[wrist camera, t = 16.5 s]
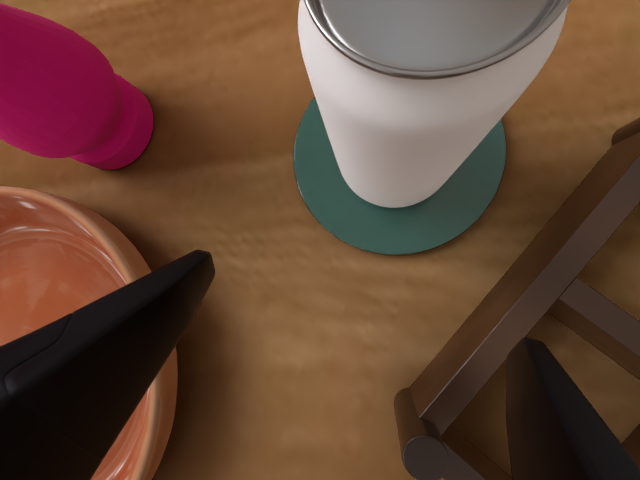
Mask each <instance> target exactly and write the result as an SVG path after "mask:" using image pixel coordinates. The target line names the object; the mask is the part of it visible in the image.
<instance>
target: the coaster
mask: <svg viewBox="0 0 640 480" xmlns="http://www.w3.org/2000/svg"><path fill="white" fill-rule="evenodd" d="M505 159H506V138H505V133H504V128H503V124H502V121H501V119H500V120H499V121H498V123H497V124H496V125H495V126H494V127H493V128H492V129H491V131H490V132H489V133H488V134H487V135H486V136H485V138H484V139H483V140H482V141H481V142H480V143H479V144H478V146H477V147H476V148H475V149H474V150H473V151H472V152H471V154H470V155H469V156H468V157H467V158H466V159H465V160H464V162H463V163H462V164H461V165H460V166H459V167H458V168H457V169H456V171H455V172H454V173H453V174H452V175H451V176H450V177H449V178H448V180H447V181H446V182H445V183H444V184H443V185H442V186H441V187H440V188H439V189H438V190H437V191H436V192H435V193H434V194H432V195H431V196H430V197H428V198H426V199H425V200H423V201H421V202H419V203H416V204H414V205H410V206H406V207H399V208H388V207H382V206H378V205H374V204H372V203H369V202H367V201H365V200H364V199H362V198H361V197H359V196H358V195H357V194H356V193H354V192H353V191H352V189H351V188H350V187H349V186H348V184H347V183H346V181H345V180H344V178H343V176H342V174H341V171H340V169H339V166H338V163H337V160H336V157H335V155H334V152H333V149H332V146H331V143H330V140H329V137H328V134H327V131H326V128H325V125H324V122H323V119H322V116H321V113H320V110H319V107H318V104H317V101H316V98H315V97H314V99H313V100H312V101H311V103H310V104H309V106H308V108H307V110H306V111H305V113H304V115H303V118H302V120H301V122H300V125H299V128H298V131H297V135H296V139H295V146H294V170H295V177H296V181H297V185H298V188H299V191H300V193H301V196H302V198H303V200H304V202H305V204H306V205H307V207H308V209H309V210H310V212H311V213H312V214H313V216H314V217H315V218H316V220H317V221H318V222H319V223H320V224H321V225H322V226H323V227H324V228H325V229H326V230H328V231H329V232H330V233H331V234H333V235H334V236H335V237H337V238H338V239H340V240H342V241H343V242H345V243H347V244H349V245H351V246H354V247H356V248H358V249H361V250H365V251H368V252H372V253H378V254H385V255H404V254H413V253H418V252H422V251H426V250H430V249H432V248H435V247H437V246H440V245H442V244H445V243H447V242H448V241H450V240H452V239H454V238H456V237H457V236H459V235H460V234H461V233H463V232H464V231H465V230H467V229H468V228H469V227H470V226H471V225H472V224H473V223H474V222H475V221H476V220H478V219H479V218H480V216H481V215H482V214H483V212H484V211H485V210H486V209H487V207H488V206H489V204H490V203H491V201H492V199H493V198H494V196H495V194H496V192H497V189H498V187H499V185H500V182H501V179H502V175H503V171H504V168H505Z"/></svg>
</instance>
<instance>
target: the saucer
mask: <svg viewBox="0 0 640 480" xmlns="http://www.w3.org/2000/svg"><path fill="white" fill-rule="evenodd" d="M149 273H151V270H150V268H149V267H148V265H147V263H146V262H145V260H144V259H143V257H142V256H141V254H140V253H139V252H138V250H137V249H136V248H135V246H134V245H133V244H132V243H131V242H130V241H129V240H128V238H127V237H126V236H125V235H124V234H123V233H122V232H121V231H120V230H118V229H117V228H116V227H115V226H114V225H113V224H111V223H110V222H109V221H108V220H106V219H105V218H104V217H102V216H101V215H99V214H98V213H96V212H95V211H93V210H91V209H89V208H87V207H85V206H83V205H81V204H79V203H77V202H74V201H72V200H69V199H66V198H63V197H59V196H55V195H51V194H48V193H44V192H40V191H36V190H31V189H25V188H18V187H2V186H0V346H2V345H4V344H6V343H9V342H11V341H13V340H15V339H18V338H20V337H22V336H24V335H26V334H29V333H31V332H33V331H35V330H37V329H39V328H41V327H43V326H45V325H47V324H50V323H52V322H54V321H56V320H58V319H60V318H62V317H64V316H66V315H68V314H70V313H73V312H74V311H76V310H78V309H80V308H82V307H84V306H86V305H88V304H90V303H92V302H94V301H96V300H98V299H99V298H101V297H103V296H105V295H107V294H109V293H111V292H113V291H115V290H117V289H119V288H121V287H123V286H125V285H127V284H129V283H131V282H133V281H135V280H137V279H139V278H141V277H143V276H145V275H147V274H149ZM177 383H178V368H177V352H176V346H175V348H174V349H173V351H172V353H171V354H170V356H169V357H168V359H167V360H166V362H165V364H164V365H163V367H162V368H161V370H160V371H159V373H158V375H157V376H156V378H155V379H154V381H153V382H152V384H151V385H150V387H149V389H148V390H147V392H146V393H145V395H144V396H143V398H142V400H141V401H140V403H139V404H138V406H137V407H136V409H135V410H134V412H133V414H132V415H131V417H130V418H129V420H128V421H127V423H126V425H125V426H124V428H123V429H122V431H121V432H120V434H119V435H118V437H117V439H116V440H115V442H114V443H113V445H112V446H111V448H110V450H109V451H108V453H107V454H106V456H105V457H104V459H103V461H102V462H101V464H100V466H99V467H98V469H97V470H96V472H95V473H94V475H93V477H92V478H91V480H152V478H153V476H154V475H155V473H156V471H157V469H158V466H159V464H160V462H161V459H162V457H163V454H164V452H165V449H166V446H167V443H168V439H169V436H170V433H171V429H172V425H173V420H174V414H175V408H176V398H177Z"/></svg>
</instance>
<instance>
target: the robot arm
mask: <svg viewBox="0 0 640 480" xmlns="http://www.w3.org/2000/svg"><path fill="white" fill-rule="evenodd" d="M214 275H215V268H214V264H213V260H212V256H211V254H210V253H209V252H206V251H203V250H195V251H193V252H191V253H189V254H187V255H185V256H183V257H181V258H179V259H177V260H175V261H173V262H171V263H169V264H167V265H165V266H163V267H161V268H159V269H157V270H155V271H153V272H151V273H149V274H147V275H145V276H143V277H141V278H139V279H137V280H135V281H133V282H131V283H129V284H127V285H125V286H123V287H121V288H119V289H117V290H115V291H113V292H111V293H109V294H107V295H105V296H103V297H101V298H99V299H98V300H96V301H94V302H92V303H90V304H88V305H86V306H84V307H82V308H80V309H78V310H76V311H74V312H73V313H70V314H68V315H66V316H64V317H62V318H60V319H58V320H56V321H54V322H52V323H50V324H47V325H45V326H43V327H41V328H39V329H37V330H35V331H33V332H31V333H29V334H26V335H24V336H22V337H20V338H18V339H15V340H13V341H11V342H9V343H6V344H4V345H2V346H0V480H91V478H92V477H93V475H94V473H95V472H96V470H97V469H98V467H99V466H100V464H101V462H102V461H103V459H104V457H105V456H106V454H107V453H108V451H109V450H110V448H111V446H112V445H113V443H114V442H115V440H116V439H117V437H118V435H119V434H120V432H121V431H122V429H123V428H124V426H125V425H126V423H127V421H128V420H129V418H130V417H131V415H132V414H133V412H134V410H135V409H136V407H137V406H138V404H139V403H140V401H141V400H142V398H143V396H144V395H145V393H146V392H147V390H148V389H149V387H150V385H151V384H152V382H153V381H154V379H155V378H156V376H157V375H158V373H159V371H160V370H161V368H162V367H163V365H164V364H165V362H166V360H167V359H168V357H169V356H170V354H171V353H172V351H173V349H174V348H175V346H176V345H177V343H178V342H179V340H180V339H181V337H182V335H183V334H184V332H185V331H186V329H187V328H188V326H189V324H190V323H191V321H192V319H193V318H194V316H195V314H196V312H197V310H198V308H199V306H200V304H201V302H202V300H203V298H204V296H205V294H206V292H207V290H208V288H209V286H210V284H211V282H212V280H213V278H214ZM506 423H507V434H508V443H509V453H510V462H511V472H512V480H640V468H639V467H638V465H637V464H636V463H635V461H634V460H633V459H632V458H631V456H630V455H629V454H628V452H627V451H626V450H625V448H624V447H623V446H622V444H621V443H620V442H619V441H618V439H617V438H616V437H615V435H614V434H613V433H612V431H611V430H610V429H609V428H608V426H607V425H606V424H605V422H604V421H603V420H602V418H601V417H600V416H599V414H598V413H597V412H596V411H595V409H594V408H593V407H592V405H591V404H590V403H589V401H588V400H587V399H586V398H585V396H584V395H583V394H582V392H581V391H580V390H579V388H578V387H577V386H576V385H575V383H574V382H573V381H572V379H571V378H570V377H569V375H568V374H567V373H566V371H565V370H564V369H563V368H562V366H561V365H560V364H559V362H558V361H557V360H556V358H555V357H554V356H553V355H552V353H551V352H550V351H549V349H548V348H547V347H546V345H545V344H544V343H542V342H541V341H538V340H535V339H531V338H527V337H525V338H522V339H521V340H520V341H519V342H518V343H517V344H516V345H515V346H514V348H513V349H512V350H511V351H510V352H509V354H508V356H507V371H506Z"/></svg>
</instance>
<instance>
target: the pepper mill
mask: <svg viewBox="0 0 640 480" xmlns="http://www.w3.org/2000/svg"><path fill="white" fill-rule="evenodd" d="M153 126H154V124H153V112H152V109H151V105H150V103H149V101H148V99H147V98H146V97H145V95H144V94H143V93H142V92H141V91H140V90H138V89H137V88H136V87H134V86H133V85H132V84H130V83H129V82H128V81H126V80H125V79H124V78H122V77H121V76H119V75H117V74H115V73H114V71H113V69H112V67H111V65H110V63H109V62H108V60H107V59H106V57H105V56H104V55H103V54H102V53H101V52H100V51H99V50H98V49H97V48H96V47H95V46H94V45H93V44H92V43H90V42H89V41H87V40H86V39H84V38H83V37H81V36H80V35H78V34H77V33H75V32H74V31H72V30H70V29H68V28H66V27H64V26H62V25H60V24H58V23H56V22H54V21H52V20H49V19H47V18H44V17H41V16H39V15H36V14H33V13H30V12H26V11H23V10H20V9H17V8H14V7H11V6H8V5H4V4H1V3H0V139H2V140H4V141H5V142H7V143H9V144H10V145H12V146H15V147H17V148H20V149H22V150H24V151H27V152H29V153H32V154H34V155H38V156H42V157H48V158H64V157H71V158H73V159H75V160H77V161H79V162H82V163H85V164H88V165H90V166H93V167H96V168H99V169H105V170H113V169H119V168H122V167H124V166H126V165H129V164H130V163H132V162H133V161H134V160H135V159H137V158H138V157H139V156H140V155H141V154H142V152H143V151H144V150H145V148H146V147H147V145H148V143H149V141H150V139H151V134H152V130H153Z"/></svg>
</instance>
